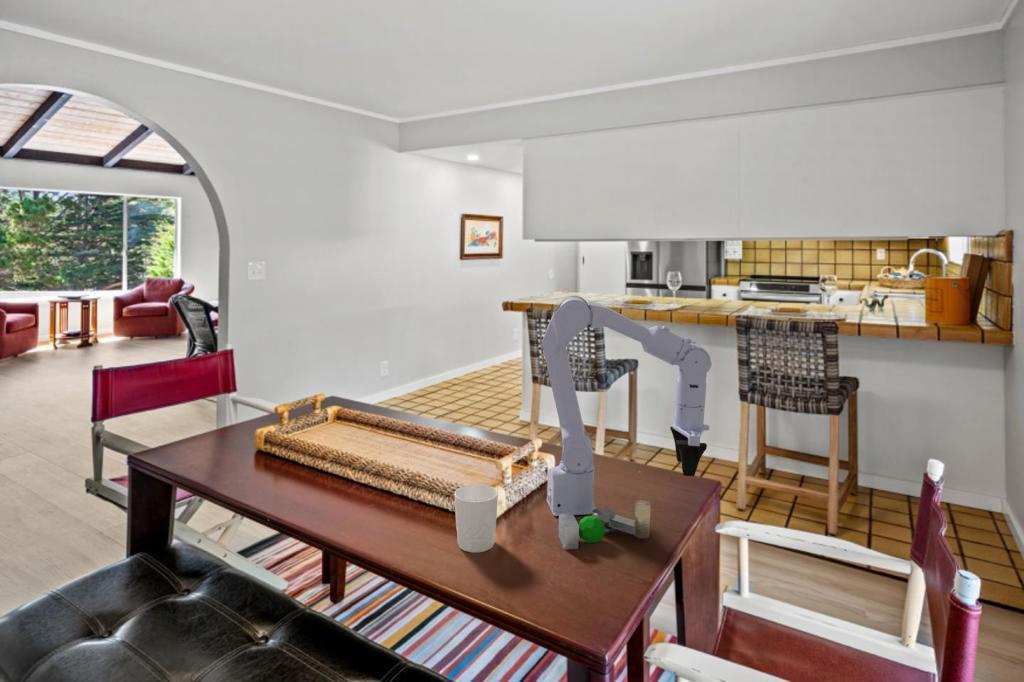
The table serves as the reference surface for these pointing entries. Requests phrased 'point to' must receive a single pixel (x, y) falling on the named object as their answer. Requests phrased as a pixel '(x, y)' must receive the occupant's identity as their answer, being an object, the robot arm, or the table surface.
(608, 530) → the pivot base
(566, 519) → the light grey block
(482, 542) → the white cup
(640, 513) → the lever
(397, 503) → the table surface
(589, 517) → the polyhedron
